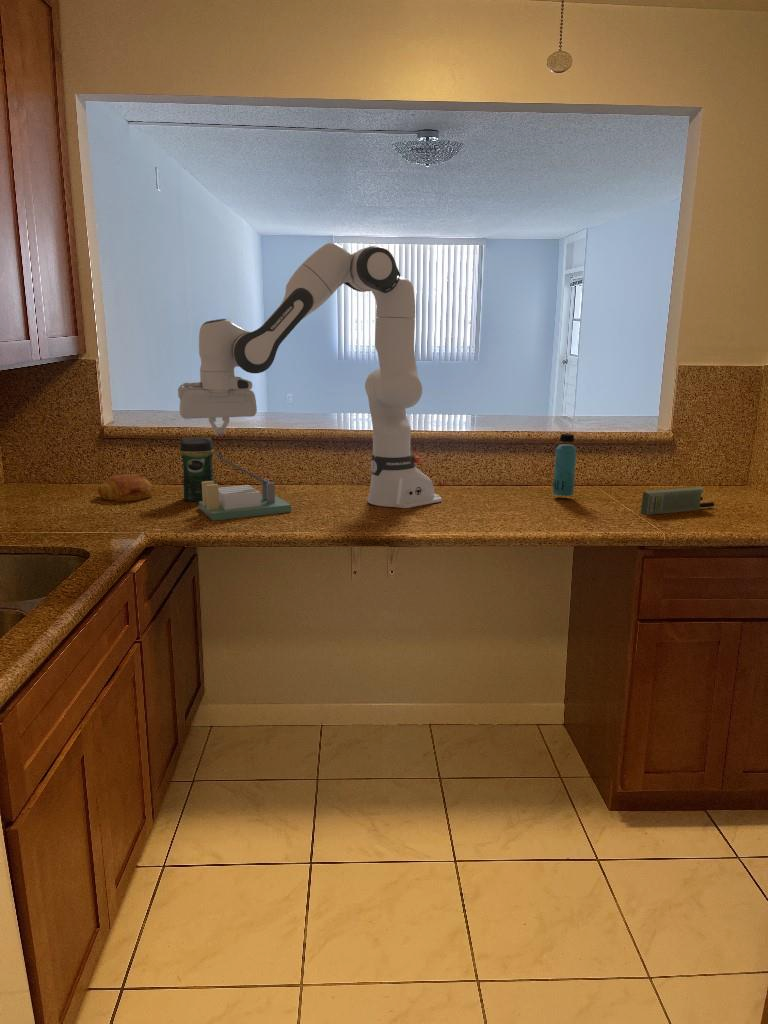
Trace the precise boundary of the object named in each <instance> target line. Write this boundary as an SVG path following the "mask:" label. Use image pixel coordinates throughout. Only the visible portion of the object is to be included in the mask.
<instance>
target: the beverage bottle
mask: <svg viewBox="0 0 768 1024" xmlns="http://www.w3.org/2000/svg"><path fill="white" fill-rule="evenodd" d="M559 442H564V443H565V442H566V443H573V442H575V435H574V434H572V433H561V434H560V438H559ZM577 451H578V449H577V447H575V445H573V444H559V445H558V446H556V448H555V458H554V466H553V467H554V471H553V481H552V494H553V495H555V496H561V497H570V496H574V491H575V480H576V479H575V478H576V472H575V471H576V461H577Z"/></svg>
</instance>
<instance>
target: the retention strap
mask: <svg viewBox="0 0 768 1024" xmlns="http://www.w3.org/2000/svg"><path fill="white" fill-rule="evenodd" d="M213 455H215V456H217V459H219V460H221V461H223V462H225V463H226V464H228V465H230V466H232V467H234V468H235V469H237V470H239V471H241V472H243V473H245V474H247V475H249V476H251V477H252V478H254V479H256V480H258V481H260V482H261V483H262V482H264V484H265V485H266V486H267V484H266V483H272V482H271V481H270V480H269V481H267V480H268V479H263V478H260V477H259V476H258V475H255V474H253V473H251V472H250V471H248V470H246V469H243V468H242V467H240V466H238V465H236V464H235V463H233V462H231V461H229V460H227V459H225V458H224V456H223V455H222V454H220V453H218V452H216V451H214V453H213ZM265 480H266V481H265Z"/></svg>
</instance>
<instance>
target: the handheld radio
mask: <svg viewBox="0 0 768 1024" xmlns="http://www.w3.org/2000/svg"><path fill="white" fill-rule="evenodd" d="M704 489H705V487H704V486H703V487H702V486H696V487H695V486H694V487H685V488H684V487H683V488H671V489H659V490H658V489H657V490H645V491H643V493H642V500H641V505H640V506H641V507H640V514H642V515H658V514H659V515H660V514H667V513H668V514H669V513H680V512H690V511H699V510H700V508H710V507H711V508H712V507H714V506H715V503H714V502H712V501H710V502H701V501H703V499H704V498H703V496H702V495H703V494H704Z"/></svg>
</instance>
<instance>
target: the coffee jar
mask: <svg viewBox="0 0 768 1024" xmlns="http://www.w3.org/2000/svg"><path fill="white" fill-rule="evenodd" d="M179 453H180V456H181V459H182V465H183V466H182V467H183V475H182V476H183V481H182V484H183V485H182V497H183V499H184V500H185V501H189V502H199V501H203V498H202V482H204V481H213V482H214V484H216V482H215V476H214V468H213V456H214V453H215V449H214V444H213V440H212V438H211V437H201V436H198V437H197V436H195V437H184V438H181V440H180V445H179Z"/></svg>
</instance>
